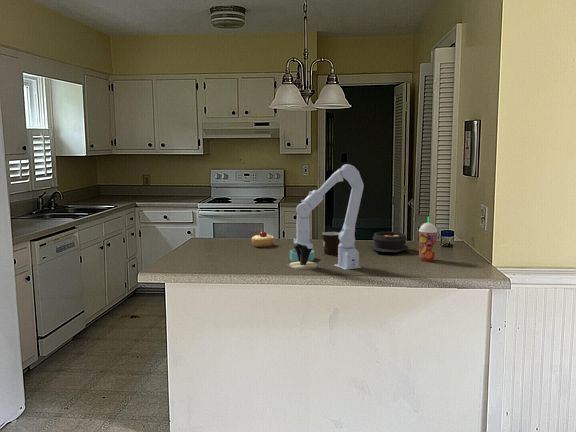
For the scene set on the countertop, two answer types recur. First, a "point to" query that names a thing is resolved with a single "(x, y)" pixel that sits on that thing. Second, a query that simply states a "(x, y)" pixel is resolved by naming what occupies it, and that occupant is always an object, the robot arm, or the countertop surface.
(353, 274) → the countertop surface
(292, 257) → the bowl
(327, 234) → the coffee mug
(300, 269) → the mat
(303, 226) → the robot arm
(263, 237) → the pastry
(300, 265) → the lid
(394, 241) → the casserole
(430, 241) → the smoothie
